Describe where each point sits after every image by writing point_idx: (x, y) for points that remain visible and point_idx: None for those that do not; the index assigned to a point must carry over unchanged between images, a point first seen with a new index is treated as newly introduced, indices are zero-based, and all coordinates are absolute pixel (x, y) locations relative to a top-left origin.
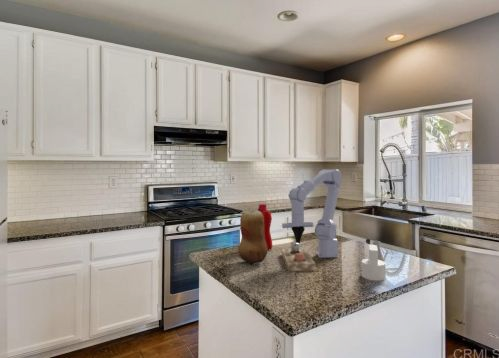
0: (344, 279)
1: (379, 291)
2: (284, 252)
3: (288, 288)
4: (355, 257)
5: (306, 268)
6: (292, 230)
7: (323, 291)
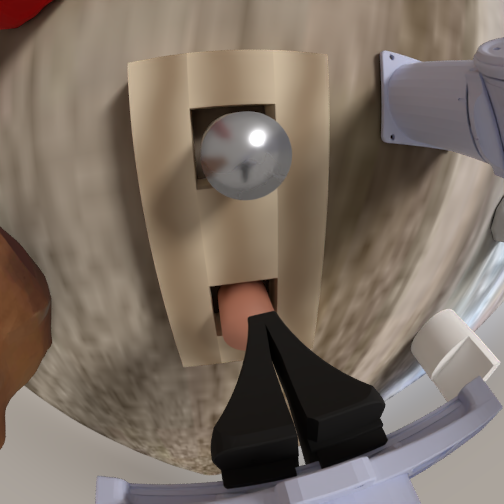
0: (360, 370)
1: (387, 397)
2: (144, 154)
3: (196, 429)
4: None
5: None
6: (224, 413)
7: None
